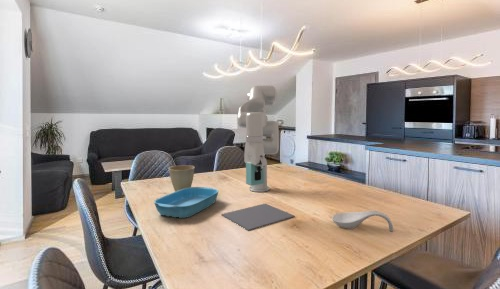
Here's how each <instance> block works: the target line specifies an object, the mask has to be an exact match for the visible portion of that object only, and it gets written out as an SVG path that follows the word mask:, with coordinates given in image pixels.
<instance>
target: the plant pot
mask: <svg viewBox="0 0 500 289" xmlns="http://www.w3.org/2000/svg"><path fill="white" fill-rule="evenodd" d="M195 168H196V167H195V166H194V165H189V164H188V165H187V164H180V165H173V166H169V167H168V173H169V176H170V182H171V185H172V187H173V190H174V192H176V191H178V190H181V189H184V188H189V187H192V185H193V181H194V175H195Z"/></svg>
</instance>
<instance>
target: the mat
mask: <svg viewBox="0 0 500 289" xmlns="http://www.w3.org/2000/svg"><path fill="white" fill-rule="evenodd" d="M221 216H222V217H224V218H225V219H226V220H229V221H230V220H231V221H230V222H232V223H234V224H235V223H236V224H235V225H237V224H238V225H237V226H239V227H240V226H241V228H242V227H243V228H242V229H244V228H245V229H244V230H246V231H247V230H248V232H250V231H253V230H257V229H260V228H263V227H266V225H267V226H270V225H273V224H276V223H280V222H283V221H286V220H290V219H293V218H296V216H295V215H294V214H292V213H289V212H287V211H284V210H282V209H280V208H277V207H275V206H273V205H270V204H268V203H262V204H257V205H253V206H249V207H245V208H240V209H237V210H232V211H228V212H225V213H222V214H221ZM269 224H270V225H269ZM262 226H263V227H262ZM259 227H260V228H259ZM256 228H257V229H256ZM252 229H253V230H252ZM249 230H250V231H249Z"/></svg>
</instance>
